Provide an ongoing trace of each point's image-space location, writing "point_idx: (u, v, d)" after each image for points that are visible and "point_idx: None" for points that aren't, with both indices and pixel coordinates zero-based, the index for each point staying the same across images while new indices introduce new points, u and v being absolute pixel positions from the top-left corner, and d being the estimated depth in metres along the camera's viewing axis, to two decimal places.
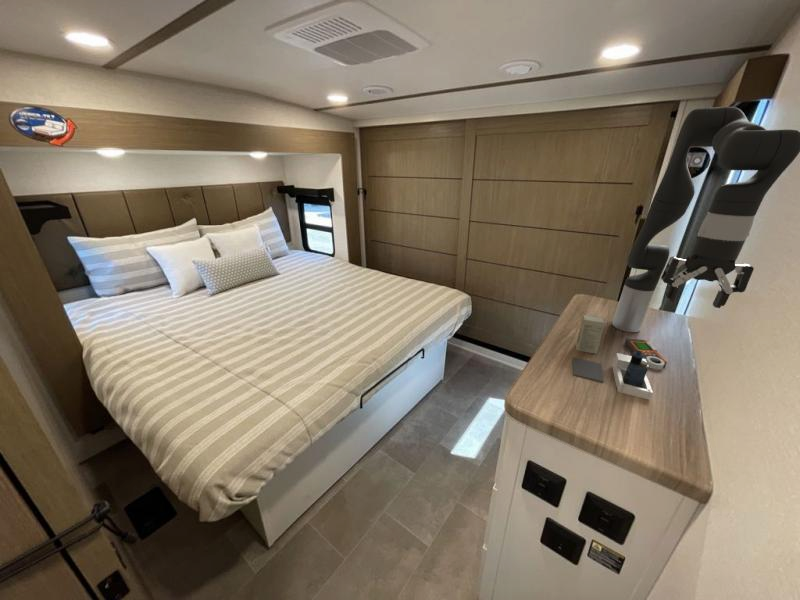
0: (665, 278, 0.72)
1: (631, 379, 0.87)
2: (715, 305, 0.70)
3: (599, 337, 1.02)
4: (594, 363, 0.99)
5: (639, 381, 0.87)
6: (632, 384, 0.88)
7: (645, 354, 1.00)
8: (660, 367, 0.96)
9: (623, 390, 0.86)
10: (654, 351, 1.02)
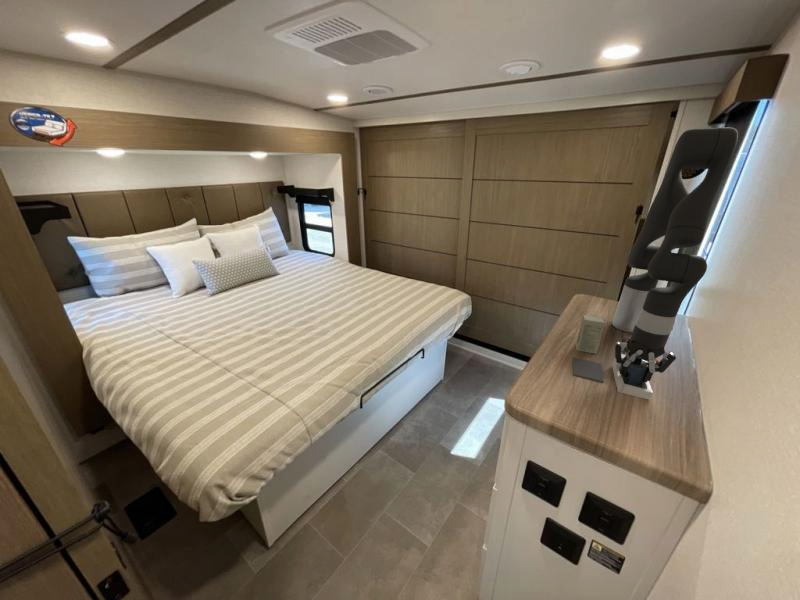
0: (617, 359, 0.87)
1: (631, 379, 0.87)
2: (643, 380, 0.87)
3: (599, 337, 1.02)
4: (594, 363, 0.99)
5: (639, 381, 0.87)
6: (632, 384, 0.88)
7: None
8: None
9: (623, 390, 0.86)
10: None
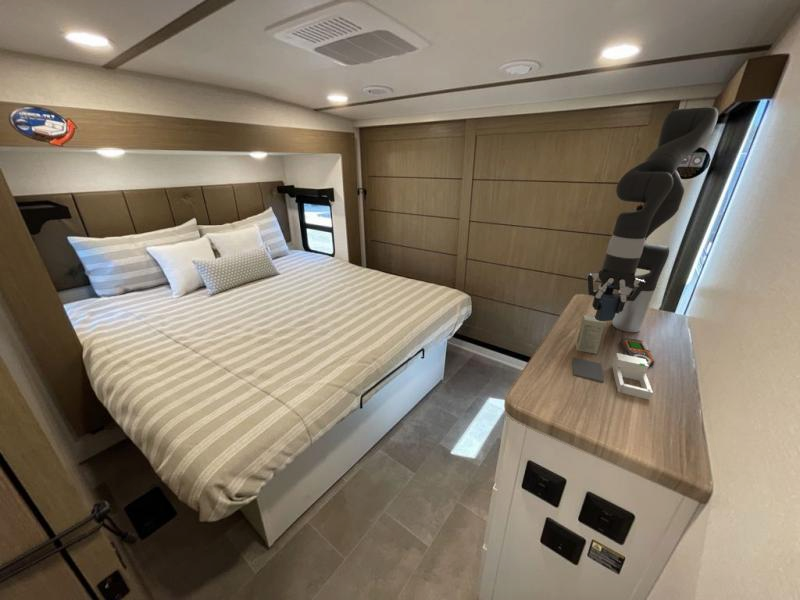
0: (590, 291, 0.87)
1: (603, 311, 0.86)
2: None
3: (599, 337, 1.02)
4: (594, 363, 0.99)
5: (612, 313, 0.87)
6: (605, 316, 0.87)
7: (634, 352, 1.01)
8: None
9: (623, 390, 0.86)
10: (646, 351, 1.02)
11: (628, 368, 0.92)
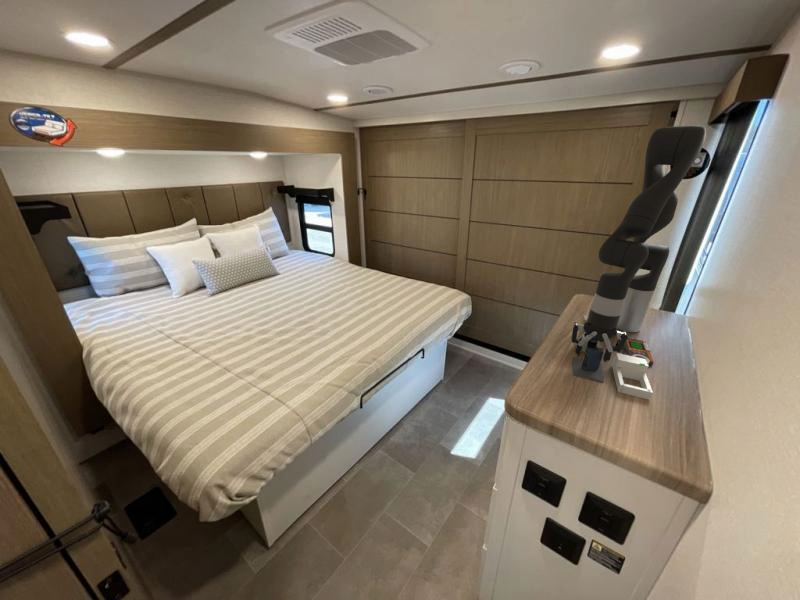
0: (572, 339, 0.94)
1: (589, 362, 0.94)
2: (603, 359, 0.93)
3: None
4: None
5: (596, 364, 0.94)
6: (590, 367, 0.94)
7: (634, 352, 1.02)
8: None
9: (623, 390, 0.86)
10: (646, 351, 1.02)
11: (628, 368, 0.92)
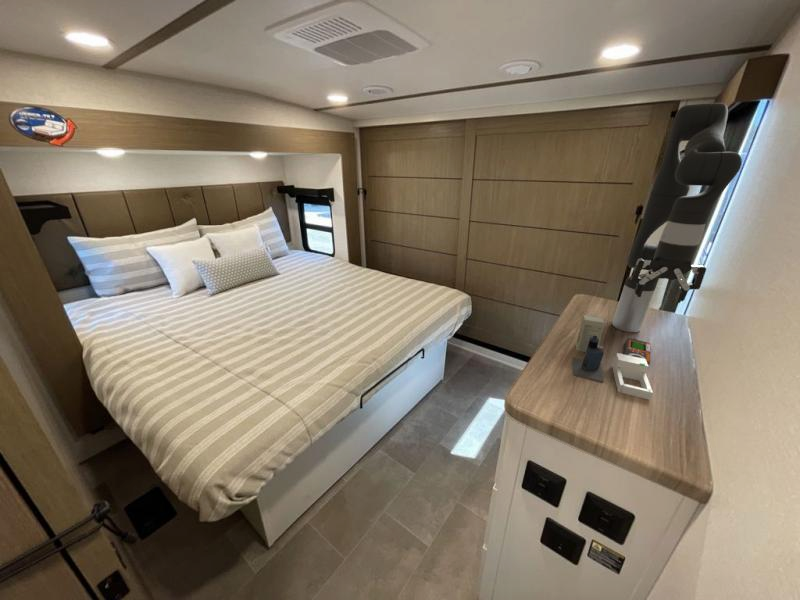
0: (633, 277, 0.83)
1: (589, 362, 0.94)
2: (676, 300, 0.81)
3: (599, 337, 1.02)
4: None
5: (596, 364, 0.94)
6: (590, 367, 0.94)
7: (632, 351, 1.02)
8: None
9: (623, 390, 0.86)
10: (646, 352, 1.02)
11: (628, 368, 0.92)
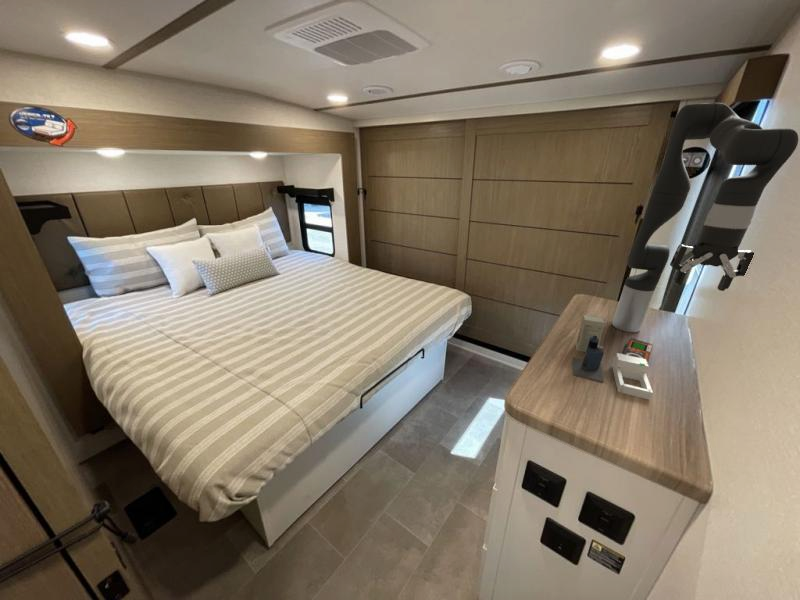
0: (674, 264, 0.79)
1: (589, 362, 0.94)
2: (720, 288, 0.77)
3: (599, 337, 1.02)
4: None
5: (596, 364, 0.94)
6: (590, 367, 0.94)
7: (631, 351, 1.02)
8: None
9: (623, 390, 0.86)
10: (646, 352, 1.01)
11: (628, 368, 0.92)
